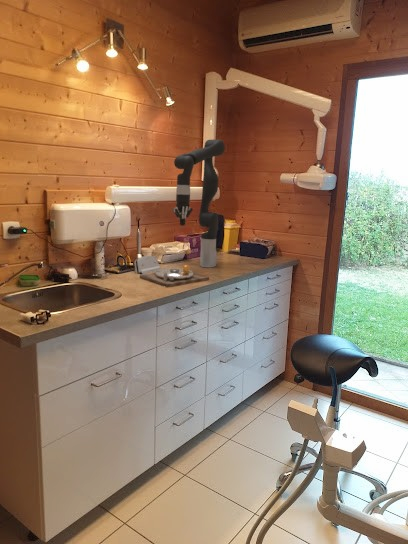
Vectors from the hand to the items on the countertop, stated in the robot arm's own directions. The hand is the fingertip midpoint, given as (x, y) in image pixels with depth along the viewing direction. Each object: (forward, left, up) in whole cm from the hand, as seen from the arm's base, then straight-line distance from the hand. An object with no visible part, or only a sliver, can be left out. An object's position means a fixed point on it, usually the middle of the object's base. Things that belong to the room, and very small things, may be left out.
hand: (182, 225), depth 233 cm
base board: (+12, +9, -27) cm, 31 cm away
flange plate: (+13, +10, -25) cm, 30 cm away
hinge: (+13, -14, -27) cm, 34 cm away
